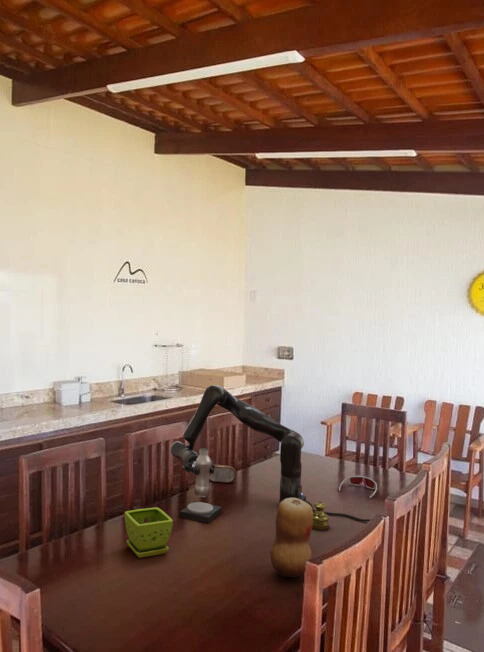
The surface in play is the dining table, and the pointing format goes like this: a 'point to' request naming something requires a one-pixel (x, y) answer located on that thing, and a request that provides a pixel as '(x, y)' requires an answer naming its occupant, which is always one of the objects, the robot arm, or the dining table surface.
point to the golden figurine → (320, 517)
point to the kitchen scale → (201, 512)
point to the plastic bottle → (202, 474)
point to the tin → (223, 474)
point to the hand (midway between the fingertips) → (205, 472)
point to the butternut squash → (292, 537)
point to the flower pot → (148, 531)
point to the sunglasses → (359, 479)
